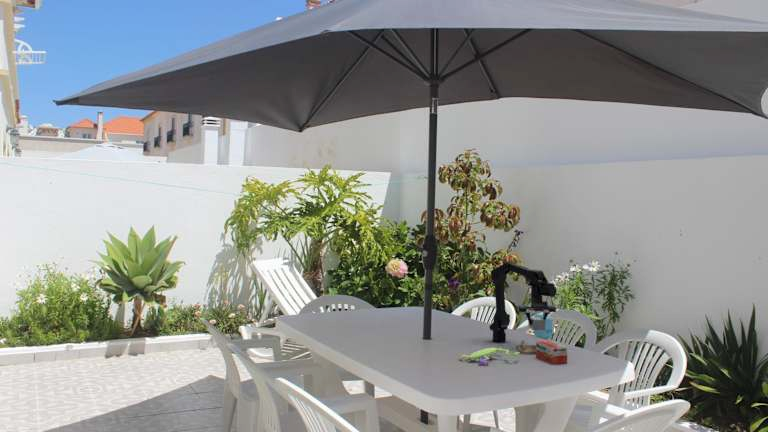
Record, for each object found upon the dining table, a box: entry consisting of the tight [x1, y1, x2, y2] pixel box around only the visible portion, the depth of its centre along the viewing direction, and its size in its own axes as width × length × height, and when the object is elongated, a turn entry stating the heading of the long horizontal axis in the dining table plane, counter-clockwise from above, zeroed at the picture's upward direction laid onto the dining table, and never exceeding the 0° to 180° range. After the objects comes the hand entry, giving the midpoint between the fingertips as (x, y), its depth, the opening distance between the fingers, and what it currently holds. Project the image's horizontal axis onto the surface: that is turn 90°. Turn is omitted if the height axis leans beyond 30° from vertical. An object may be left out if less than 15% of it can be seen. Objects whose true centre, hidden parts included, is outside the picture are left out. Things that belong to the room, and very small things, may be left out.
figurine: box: [458, 347, 521, 366], centre depth 316 cm, size 18×27×6 cm
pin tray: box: [515, 340, 536, 355], centre depth 337 cm, size 16×16×4 cm
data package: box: [533, 313, 553, 339], centre depth 374 cm, size 12×4×12 cm, turn 19°
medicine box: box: [535, 340, 568, 365], centre depth 316 cm, size 15×8×8 cm, turn 19°
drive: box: [528, 316, 545, 331], centre depth 341 cm, size 6×10×5 cm, turn 2°
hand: (536, 325), depth 341 cm, fingers closed on drive, 6 cm apart
